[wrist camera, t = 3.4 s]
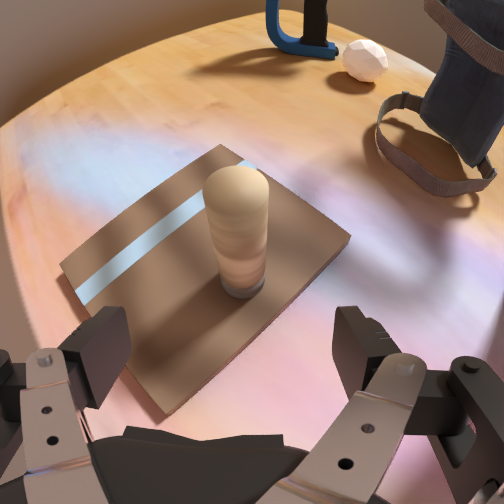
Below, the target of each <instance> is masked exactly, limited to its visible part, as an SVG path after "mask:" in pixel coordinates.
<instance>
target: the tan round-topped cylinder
mask: <svg viewBox="0 0 504 504" xmlns="http://www.w3.org/2000/svg"><path fill="white" fill-rule="evenodd" d="M202 194H203V199H204V204H205V209H206V214H207V219H208V223H209V228H210V233H211V237H212V242H213V247H214V251H215V256H216V261H217V265H218V270H219V274H220V278H221V283H222V286H223V288H224V290H225V291H226V292H227V293H228V294H229V295H230V296H232V297H234V298H238V299H247V298H251V297H253V296H255V295H257V294H258V293H259V292H260V291H261V289H262V288H263V286H264V282H265V265H266V244H267V223H268V200H269V185H268V182H267V180H266V178H265V177H264V176H263V175H262V174H261V173H260V172H259V171H257V170H255V169H253V168H250V167H247V166H238V165H236V166H228V167H224V168H221V169H219V170H217V171H215V172H214V173H212V174H211V175H210V176H209V177H208V178H207V179H206V181H205V183H204V185H203V189H202Z"/></svg>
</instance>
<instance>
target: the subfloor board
mask: <svg viewBox="0 0 504 504" xmlns="http://www.w3.org/2000/svg"><path fill="white" fill-rule="evenodd" d="M236 165H238V166H247V167H250V168H253V169H255V170H257V171H259V172H260V173H261V174H262V175H263V176H264V177H265V178H266V180H267V182H268V185H269V200H268V223H267V244H266V265H265V282H264V286H263V288H262V289H261V291H260V292H259V293H258V294H257V295H255V296H253V297H251V298H247V299H238V298H234V297H232V296H230V295H229V294H228V293H227V292H226V291H225V290H224V288H223V286H222V283H221V278H220V274H219V270H218V265H217V261H216V256H215V251H214V247H213V242H212V237H211V233H210V228H209V223H208V219H207V214H206V209H205V204H204V199H203V194H202V189H203V185H204V183H205V181H206V179H207V178H208V177H209V176H210V175H211V174H212V173H214V172H215V171H217V170H219V169H221V168H224V167H228V166H236ZM350 238H351V235H350V234H349V233H348V232H346V231H345V230H344V229H342V228H341V227H340V226H338V225H337V224H336V223H334V222H333V221H332V220H330V219H329V218H328V217H326V216H325V215H324V214H322V213H321V212H320V211H318V210H317V209H315V208H314V207H313V206H311V205H310V204H308V203H307V202H306V201H304V200H303V199H301V198H300V197H299V196H297V195H296V194H294V193H293V192H292V191H290V190H289V189H287V188H286V187H284V186H283V185H282V184H280V183H279V182H277V181H276V180H274V179H273V178H271V177H270V176H268V175H267V174H266V173H264V172H263V171H261V170H260V169H258V168H257V167H256V166H254V165H253V164H251V163H250V162H248V161H247V160H245V159H243V158H242V157H240V156H238V155H237V154H235V153H234V152H232V151H231V150H229V149H228V148H226V147H225V146H223V145H221V144H220V145H218V146H216V147H215V148H213V149H212V150H210V151H209V152H207V153H205V154H204V155H202V156H201V157H199V158H198V159H196V160H195V161H193V162H192V163H190V164H189V165H187V166H186V167H184V168H183V169H181V170H180V171H178V172H177V173H176V174H174V175H173V176H171V177H170V178H168V179H167V180H165V181H164V182H163V183H161V184H160V185H158V186H157V187H156V188H154V189H153V190H151V191H150V192H149V193H147V194H146V195H144V196H143V197H142V198H140V199H139V200H138V201H136V202H135V203H134V204H132V205H131V206H130V207H128V208H127V209H126V210H124V211H123V212H122V213H120V214H119V215H118V216H117V217H115V218H114V219H113V220H111V221H110V222H109V223H108V224H106V225H105V226H104V227H103V228H101V229H100V230H99V231H98V232H96V233H95V234H94V235H93V236H91V237H90V238H89V239H88V240H87V241H85V242H84V243H83V244H82V245H81V246H79V247H78V248H77V249H76V250H75V251H74V252H72V253H71V254H70V255H69V256H68V257H67V258H65V259H64V260H63V261H62V262H61V263H60V264H59V265H60V266H61V268H62V270H63V272H64V274H65V275H66V277H67V279H68V280H69V282H70V284H71V285H72V287H73V289H74V290H75V292H76V294H77V296H78V297H79V299H80V300H81V302H82V304H83V305H84V307H85V308H86V310H87V311H88V313H89V314H90V316H91V317H93V316H94V315H95V314H96V313H97V312H98V311H99V310H100V309H101V308H102V307H104V306H122V307H123V308H124V309H125V312H126V317H127V322H128V328H129V333H130V338H131V343H132V351H131V356H130V358H129V360H128V361H127V363H126V364H125V365H126V367H127V368H128V369H129V371H130V372H131V373H132V374H133V376H134V377H135V378H136V380H137V381H138V382H139V383H140V385H141V386H142V387H143V388H144V389H145V391H146V392H147V393H148V394H149V395H150V397H151V398H152V399H153V400H154V401H155V403H156V404H157V405H158V406H159V407H160V408H161V410H162V411H163V412H164V413H165V414H166V415H172V414H173V413H174V412H175V411H176V410H177V409H179V408H180V407H181V406H182V405H183V404H184V403H185V402H187V401H188V400H189V399H190V398H191V397H192V396H193V395H195V394H196V393H197V392H198V391H199V390H200V389H201V388H202V387H204V386H205V385H206V384H207V383H208V382H209V381H210V380H211V379H212V378H213V377H215V376H216V375H217V374H218V373H219V372H220V371H221V370H222V369H223V368H224V367H225V366H227V365H228V364H229V363H230V362H231V361H232V360H233V359H234V358H235V357H236V356H237V355H238V354H239V353H240V352H242V351H243V350H244V349H245V348H246V347H247V346H248V345H249V344H250V343H251V342H252V341H253V340H254V339H255V338H256V337H257V336H258V335H259V334H260V333H261V332H262V331H263V330H264V329H266V328H267V327H268V326H269V325H270V324H271V323H272V322H273V321H274V320H275V319H276V318H277V317H278V316H279V315H280V314H281V313H282V312H283V311H284V310H285V309H286V308H287V307H288V306H289V305H290V304H291V303H292V302H293V301H294V300H295V299H296V298H297V297H298V296H299V295H300V294H301V293H302V292H303V291H304V290H305V289H306V288H307V286H308V285H309V284H310V283H311V282H312V281H313V280H314V279H315V278H316V277H317V276H318V275H319V274H320V273H321V272H322V271H323V270H324V269H325V268H326V267H327V266H328V265H329V264H330V262H331V261H332V260H333V259H334V258H335V257H336V256H337V255H338V254H339V253H340V252H341V251H342V250H343V249H344V247H345V246H346V245H347V244H348V242H349V240H350Z"/></svg>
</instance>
